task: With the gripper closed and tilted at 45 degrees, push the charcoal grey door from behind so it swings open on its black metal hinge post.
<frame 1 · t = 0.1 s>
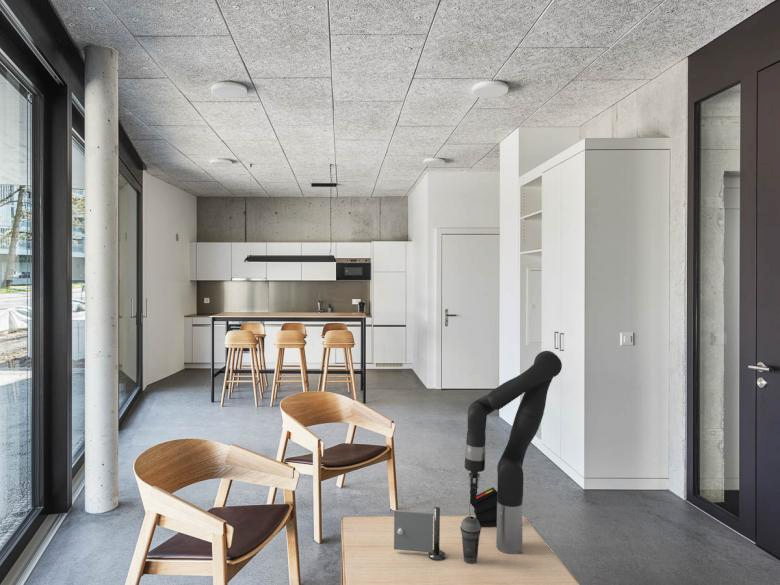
hand: (473, 499, 210), 17 cm above the table, tool pointing down, fingers open, 8 cm apart
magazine: (486, 525, 227), on the table
beverage cup: (470, 561, 198), on the table
door: (413, 531, 202), point 8 cm above the table, hinge at 0.0°
hinge post: (436, 556, 201), on the table
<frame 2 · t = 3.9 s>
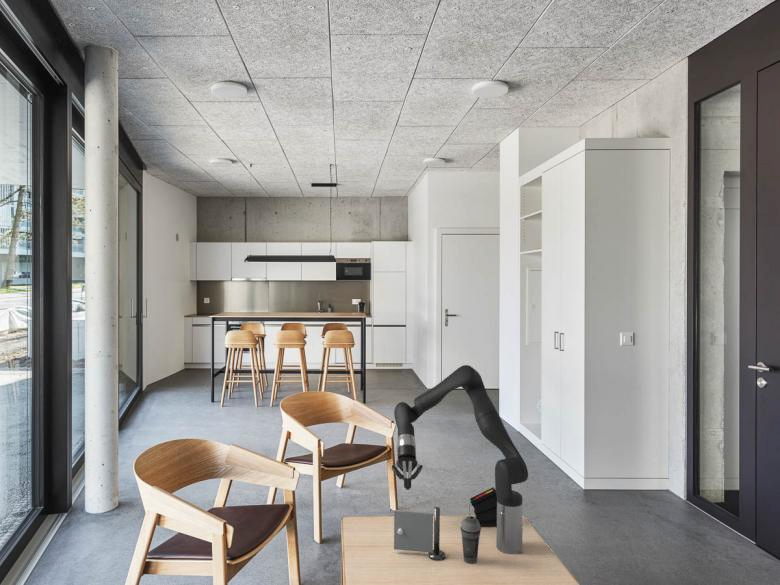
hand: (407, 488, 218), 18 cm above the table, tool tilted 45°, fingers closed
nothing on the table moved.
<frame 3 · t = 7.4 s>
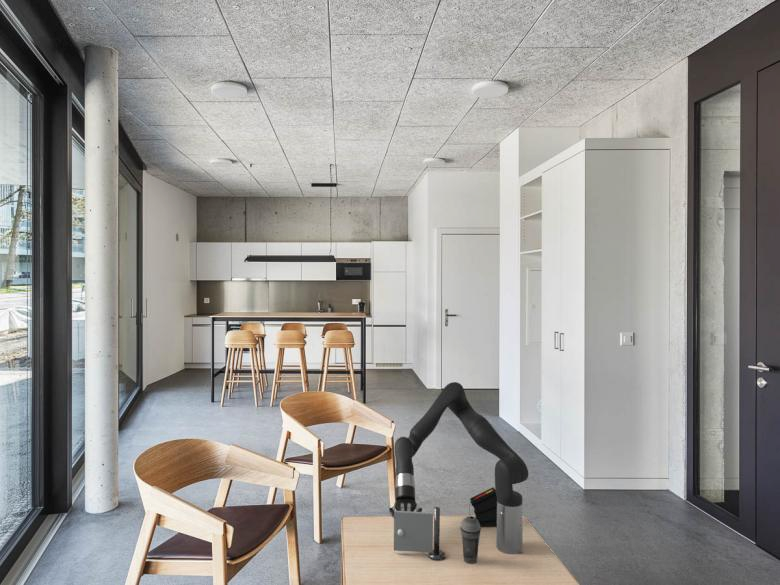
hand: (406, 534, 204), 7 cm above the table, tool tilted 45°, fingers closed
door: (413, 532, 201), point 9 cm above the table, hinge at 3.1°, touching gripper
everything else where it was.
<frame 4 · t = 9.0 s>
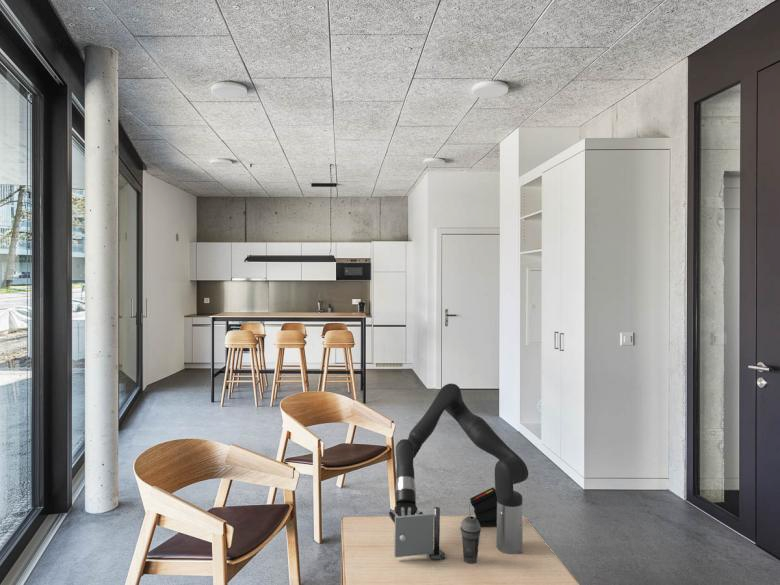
hand: (406, 539, 200), 7 cm above the table, tool tilted 45°, fingers closed
door: (414, 535, 199), point 9 cm above the table, hinge at 22.1°, touching gripper
everything else where it was.
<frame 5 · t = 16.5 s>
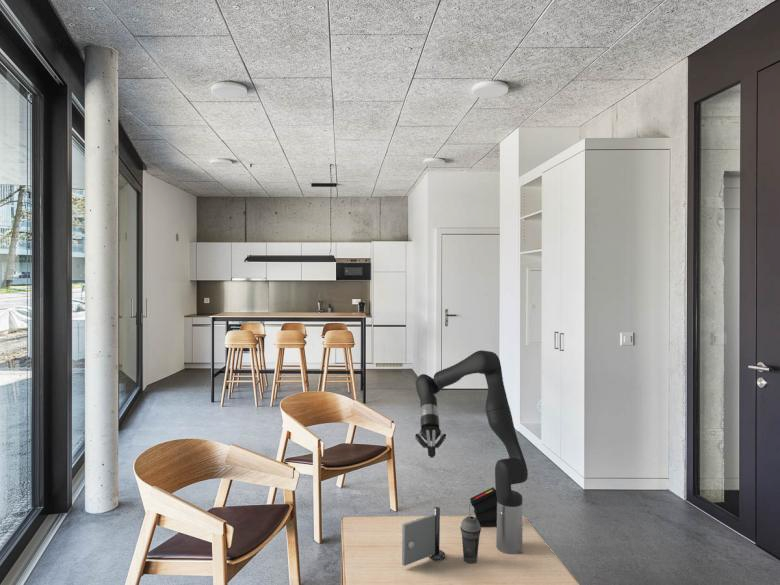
hand: (431, 456, 220), 30 cm above the table, tool tilted 45°, fingers closed
door: (420, 540, 196), point 8 cm above the table, hinge at 46.6°
everything else where it was.
at the end: door at +47° (first picture: +0°) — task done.
